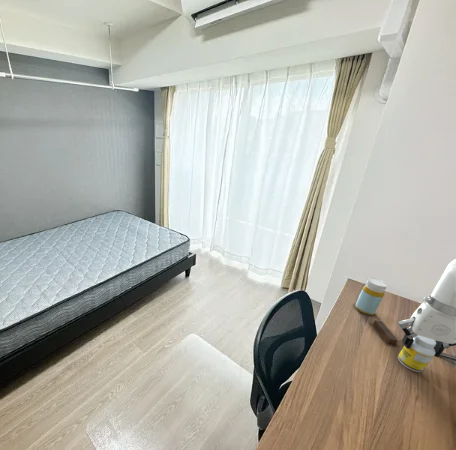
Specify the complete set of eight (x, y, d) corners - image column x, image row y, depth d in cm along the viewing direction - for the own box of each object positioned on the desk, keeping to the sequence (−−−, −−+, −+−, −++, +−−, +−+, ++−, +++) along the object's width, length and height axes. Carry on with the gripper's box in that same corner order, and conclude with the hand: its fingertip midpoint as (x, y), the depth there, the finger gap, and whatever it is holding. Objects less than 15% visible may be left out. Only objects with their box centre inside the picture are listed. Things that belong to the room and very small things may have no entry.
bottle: (372, 308, 109) (386, 280, 104) (376, 318, 104) (390, 289, 98) (353, 302, 113) (365, 275, 107) (356, 311, 107) (368, 283, 101)
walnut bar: (372, 324, 100) (375, 319, 99) (379, 325, 100) (382, 321, 99) (387, 343, 91) (390, 338, 90) (395, 345, 91) (398, 340, 90)
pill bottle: (398, 352, 86) (413, 327, 82) (424, 365, 82) (441, 340, 78) (395, 362, 83) (410, 337, 78) (422, 377, 78) (439, 350, 74)
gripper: (415, 304, 73) (390, 348, 80) (497, 323, 67) (463, 369, 73) (403, 290, 79) (381, 332, 86) (477, 307, 73) (447, 350, 80)
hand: (419, 348), depth 80 cm, fingers closed on pill bottle, 6 cm apart
